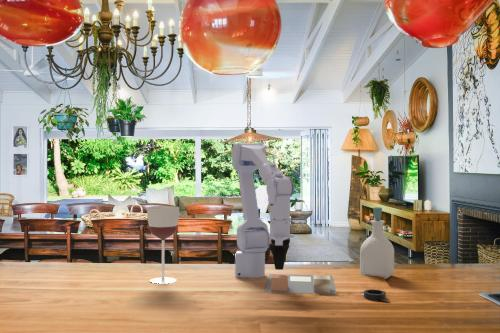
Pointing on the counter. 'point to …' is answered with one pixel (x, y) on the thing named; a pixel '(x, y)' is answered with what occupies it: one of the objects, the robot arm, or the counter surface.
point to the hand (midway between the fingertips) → (279, 266)
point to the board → (301, 285)
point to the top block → (321, 283)
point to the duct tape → (375, 295)
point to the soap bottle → (377, 251)
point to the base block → (279, 282)
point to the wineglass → (163, 231)
